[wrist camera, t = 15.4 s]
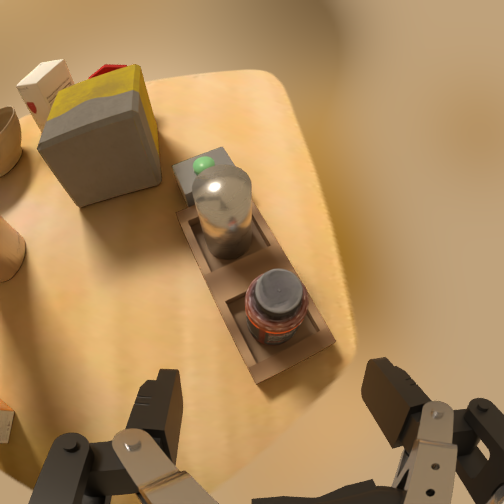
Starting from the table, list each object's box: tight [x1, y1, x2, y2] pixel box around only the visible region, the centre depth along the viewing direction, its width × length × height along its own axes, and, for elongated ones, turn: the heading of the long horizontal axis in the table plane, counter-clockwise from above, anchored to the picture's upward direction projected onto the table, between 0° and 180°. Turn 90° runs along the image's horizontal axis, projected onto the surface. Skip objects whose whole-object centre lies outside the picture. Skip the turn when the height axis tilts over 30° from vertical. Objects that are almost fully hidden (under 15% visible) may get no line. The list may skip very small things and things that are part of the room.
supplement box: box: [16, 59, 75, 132], centre depth 49 cm, size 9×9×15 cm
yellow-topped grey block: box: [37, 64, 162, 207], centre depth 43 cm, size 15×24×15 cm, turn 15°
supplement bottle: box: [245, 269, 309, 346], centre depth 30 cm, size 6×6×11 cm
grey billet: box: [192, 164, 252, 260], centre depth 35 cm, size 6×6×11 cm
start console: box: [172, 147, 235, 207], centre depth 43 cm, size 8×6×5 cm
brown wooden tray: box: [176, 201, 336, 384], centre depth 37 cm, size 24×10×2 cm, turn 26°
